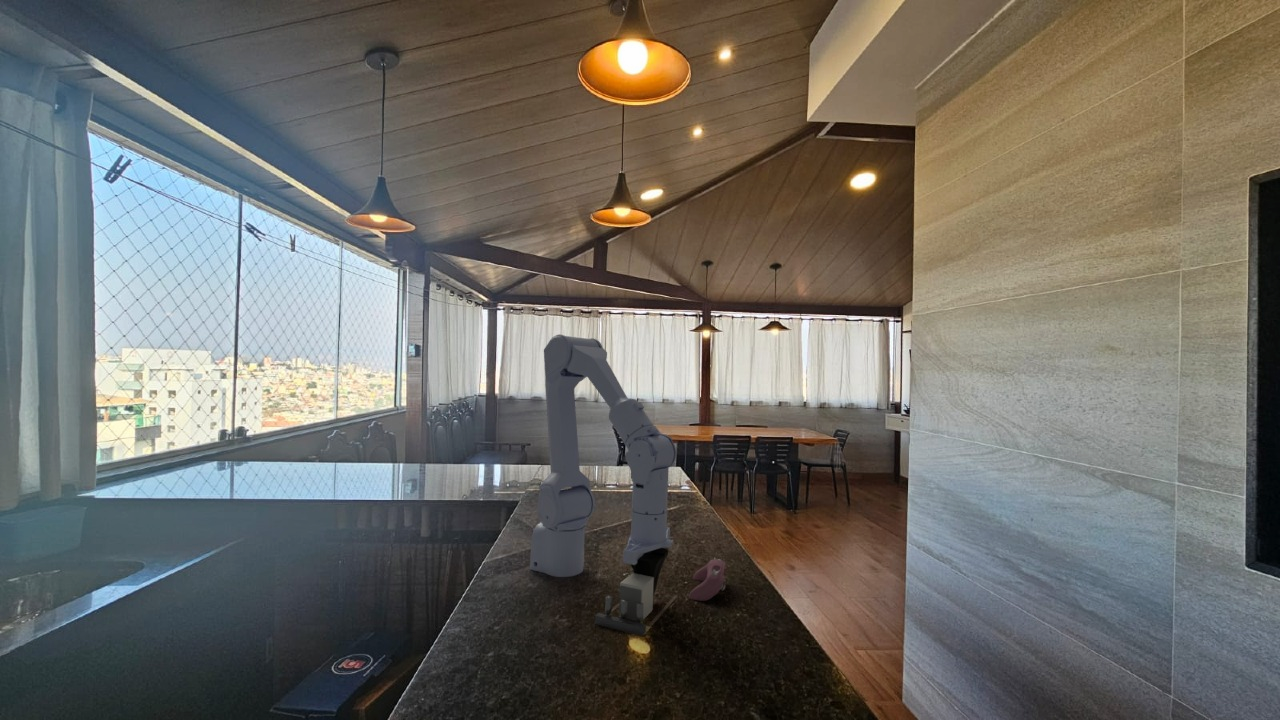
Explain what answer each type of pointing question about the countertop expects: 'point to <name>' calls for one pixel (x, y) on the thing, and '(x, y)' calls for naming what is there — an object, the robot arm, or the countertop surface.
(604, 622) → the header
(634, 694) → the countertop surface
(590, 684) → the countertop surface
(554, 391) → the robot arm
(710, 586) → the video game controller
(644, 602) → the plug block
